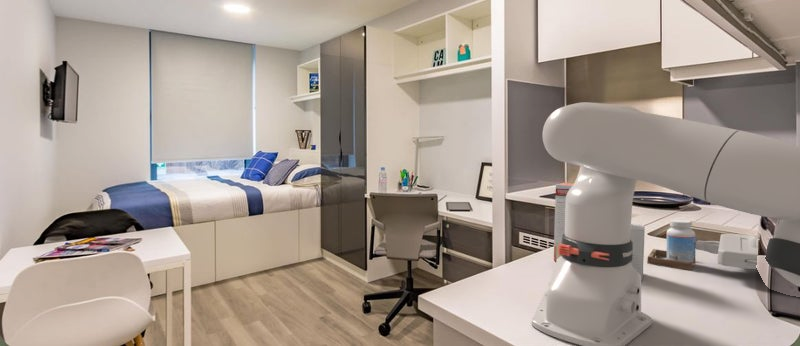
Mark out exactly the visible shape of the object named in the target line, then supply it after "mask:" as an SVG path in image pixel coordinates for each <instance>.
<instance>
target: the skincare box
mask: <svg viewBox="0 0 800 346" xmlns="http://www.w3.org/2000/svg"><path fill="white" fill-rule="evenodd" d="M645 230H646V229H645V225H644V224H637V223H631V234H630V239H631V240H632V242H633V256H632V261H631V264H632V266H633V267H634V269H635V270H636V271H637V272H638V273H639V274H640V275H641V282H642V281H643V279H644V259H645V258H644V257H645V255H644V254H645Z"/></svg>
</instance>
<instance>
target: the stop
mask: <svg viewBox="0 0 800 346" xmlns="http://www.w3.org/2000/svg"><path fill="white" fill-rule="evenodd" d="M660 257H661V258H660ZM647 264H650V265H656V266H664V267H668V268H669V267H670V268H674V269H681V270H686V271H692V270H693V266H692V263H686V262H680V261H674V260H668V259H667V250H663V249H662V250H661V249H655V248H653V249H652V250H651V252H650V253H649V254H648V256H647Z"/></svg>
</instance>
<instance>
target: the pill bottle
mask: <svg viewBox="0 0 800 346" xmlns="http://www.w3.org/2000/svg"><path fill="white" fill-rule="evenodd" d="M692 227H693V222H692V220H689V219H684V218H683V219H682V218H672V219H670V220H669V228H668V229H667V230H666V251H667V257H666V259H668V260H674V261H680V262H686V263H692V267H693V266H695V265H696V248H695V244H696V233H695V231H694V230H693V229H691V228H692Z"/></svg>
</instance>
